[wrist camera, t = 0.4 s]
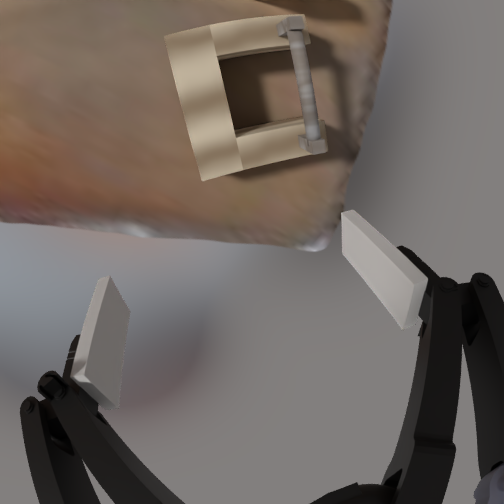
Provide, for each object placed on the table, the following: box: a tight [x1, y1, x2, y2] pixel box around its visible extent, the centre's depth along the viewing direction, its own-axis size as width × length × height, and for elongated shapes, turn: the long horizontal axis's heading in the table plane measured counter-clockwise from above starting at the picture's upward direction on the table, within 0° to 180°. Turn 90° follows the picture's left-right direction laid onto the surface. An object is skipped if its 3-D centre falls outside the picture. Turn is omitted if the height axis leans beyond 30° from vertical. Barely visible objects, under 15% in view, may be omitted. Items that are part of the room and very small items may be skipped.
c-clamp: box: [164, 14, 328, 181], centre depth 29 cm, size 18×16×10 cm
